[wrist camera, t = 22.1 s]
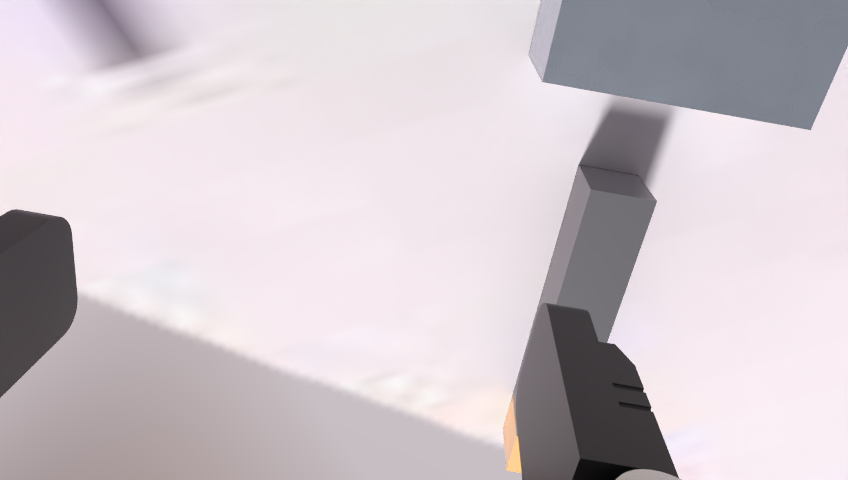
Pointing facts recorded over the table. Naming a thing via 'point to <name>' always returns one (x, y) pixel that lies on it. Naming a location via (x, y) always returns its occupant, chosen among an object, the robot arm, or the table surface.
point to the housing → (698, 53)
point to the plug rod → (591, 259)
